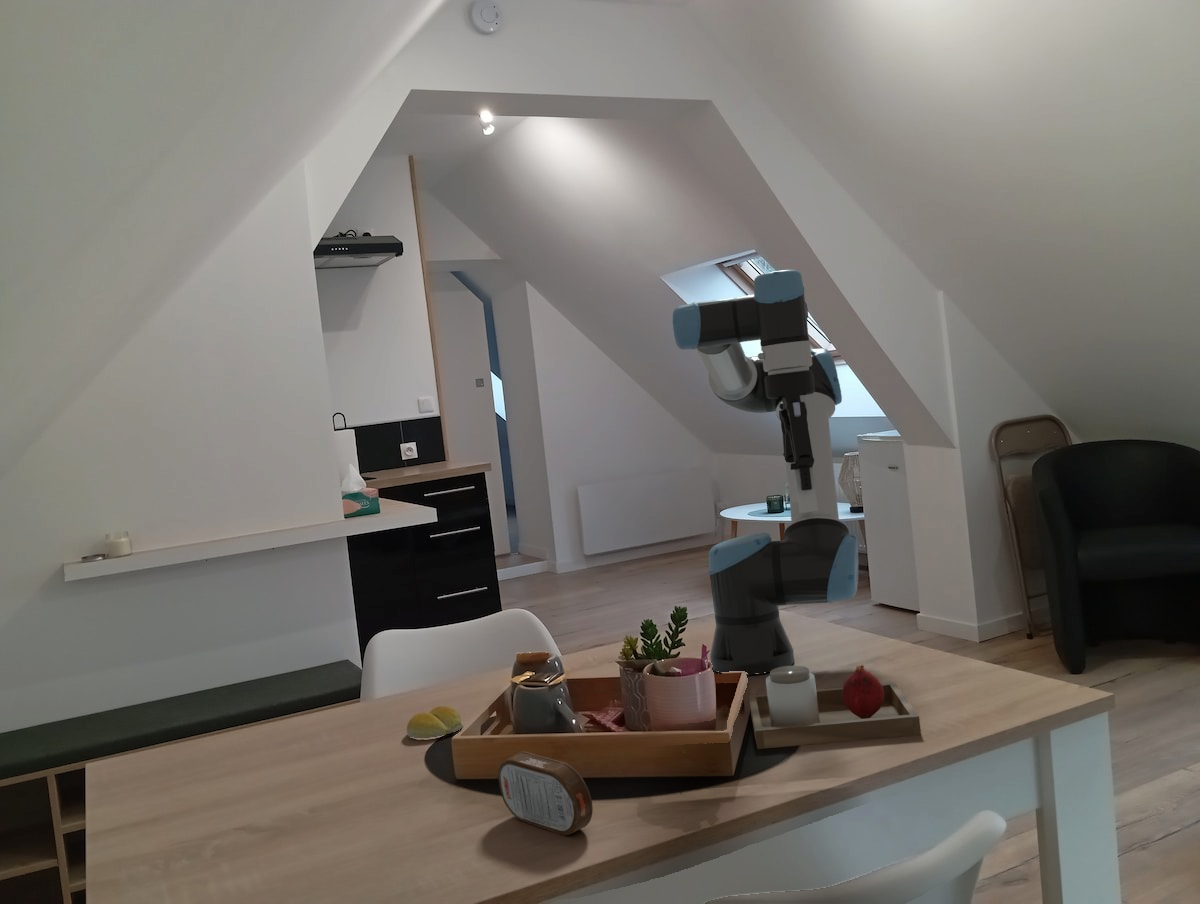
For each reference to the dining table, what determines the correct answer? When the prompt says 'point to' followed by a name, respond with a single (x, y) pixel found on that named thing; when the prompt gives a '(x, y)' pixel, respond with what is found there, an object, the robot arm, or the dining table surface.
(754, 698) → the wooden tray
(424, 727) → the yellow rounded lump
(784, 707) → the jar
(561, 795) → the tin
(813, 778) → the dining table surface
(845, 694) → the onion
